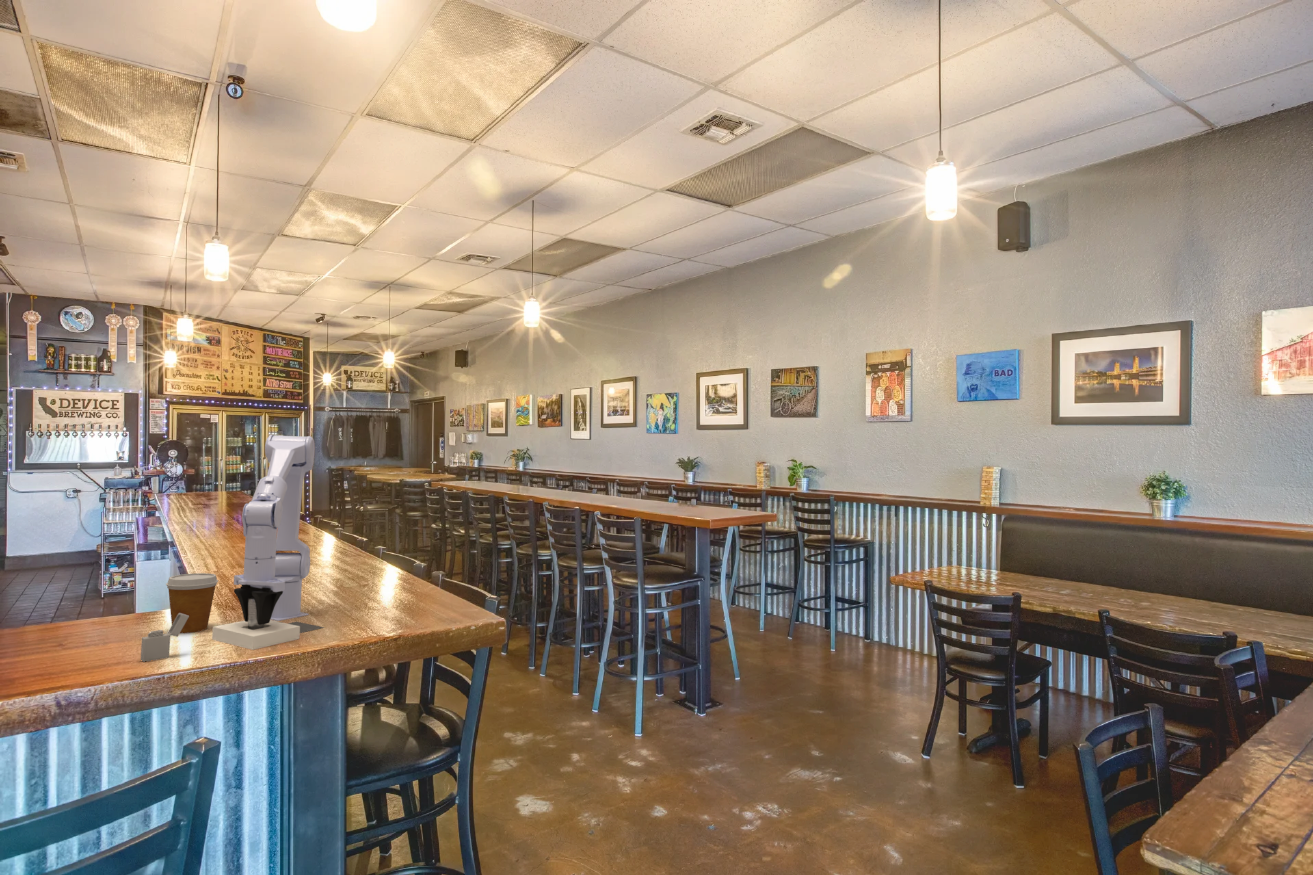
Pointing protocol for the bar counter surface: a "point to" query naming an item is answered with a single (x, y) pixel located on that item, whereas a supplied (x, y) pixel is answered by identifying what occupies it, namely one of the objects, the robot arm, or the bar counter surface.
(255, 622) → the peg
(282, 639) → the block
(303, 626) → the mat
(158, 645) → the lighter
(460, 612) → the bar counter surface
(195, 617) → the disposable coffee cup
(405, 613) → the bar counter surface
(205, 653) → the bar counter surface
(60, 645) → the bar counter surface
